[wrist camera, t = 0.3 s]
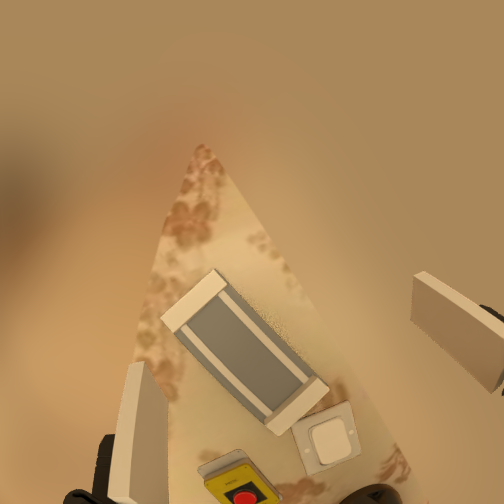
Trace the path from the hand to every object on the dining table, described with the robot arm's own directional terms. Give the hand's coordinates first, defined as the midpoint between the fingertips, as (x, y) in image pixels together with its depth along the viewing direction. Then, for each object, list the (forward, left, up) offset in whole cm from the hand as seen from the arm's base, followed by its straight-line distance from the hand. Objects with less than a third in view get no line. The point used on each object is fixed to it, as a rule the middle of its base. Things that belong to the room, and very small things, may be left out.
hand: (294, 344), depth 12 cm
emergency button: (-21, +21, -35) cm, 46 cm away
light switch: (-25, +4, -35) cm, 43 cm away
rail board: (-3, +3, -34) cm, 34 cm away
